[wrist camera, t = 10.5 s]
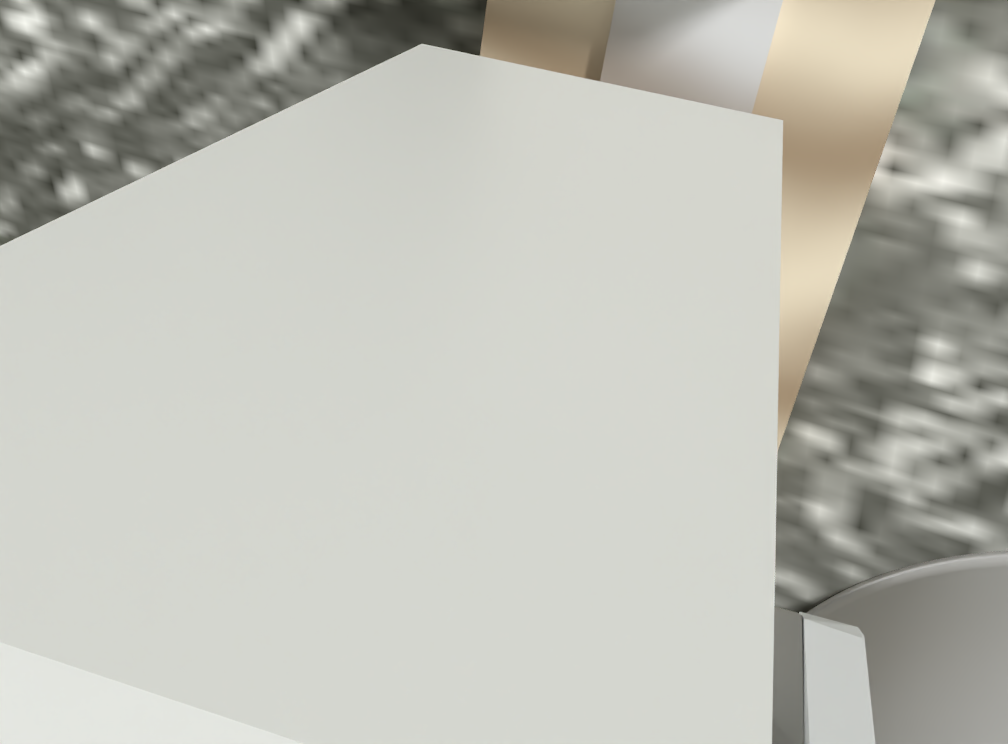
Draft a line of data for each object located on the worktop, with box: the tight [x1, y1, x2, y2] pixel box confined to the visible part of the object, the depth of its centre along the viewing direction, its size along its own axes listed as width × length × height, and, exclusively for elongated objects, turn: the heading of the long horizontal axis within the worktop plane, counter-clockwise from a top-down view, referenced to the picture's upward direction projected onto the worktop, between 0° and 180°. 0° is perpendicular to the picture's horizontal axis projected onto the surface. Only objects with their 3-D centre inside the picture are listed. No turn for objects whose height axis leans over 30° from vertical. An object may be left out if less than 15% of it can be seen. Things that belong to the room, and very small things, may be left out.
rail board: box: [480, 0, 935, 451], centre depth 26 cm, size 34×12×8 cm, turn 171°
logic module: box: [0, 44, 783, 744], centre depth 9 cm, size 4×7×10 cm, turn 171°
